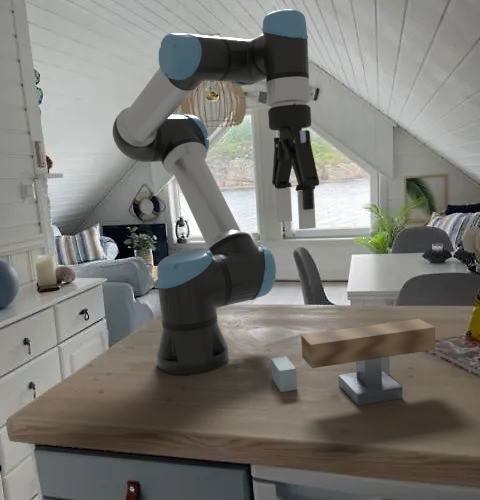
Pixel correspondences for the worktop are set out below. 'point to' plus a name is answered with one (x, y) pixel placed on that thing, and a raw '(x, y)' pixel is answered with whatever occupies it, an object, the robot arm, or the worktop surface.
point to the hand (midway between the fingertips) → (295, 224)
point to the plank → (367, 342)
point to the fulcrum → (370, 383)
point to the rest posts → (287, 372)
